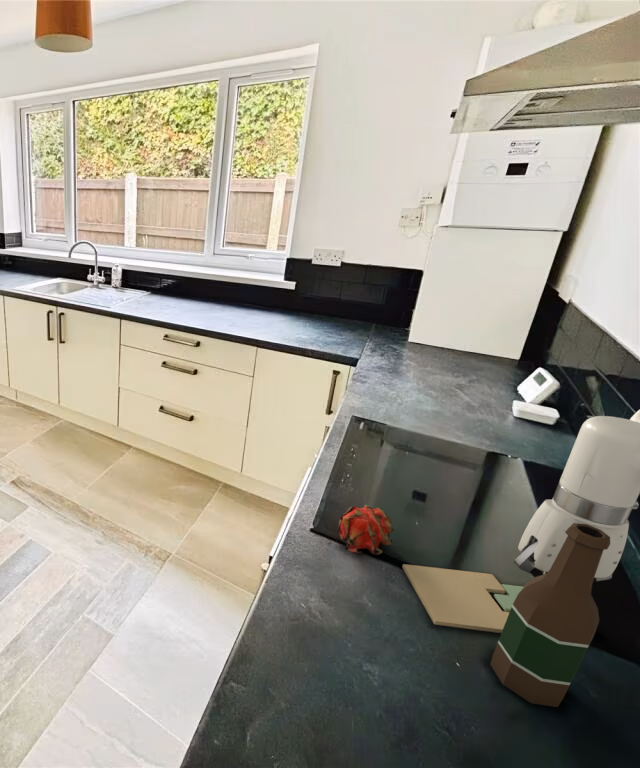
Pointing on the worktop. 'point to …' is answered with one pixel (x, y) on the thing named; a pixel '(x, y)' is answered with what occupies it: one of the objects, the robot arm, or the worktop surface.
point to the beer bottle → (552, 622)
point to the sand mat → (458, 597)
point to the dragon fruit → (365, 529)
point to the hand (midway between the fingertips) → (546, 603)
